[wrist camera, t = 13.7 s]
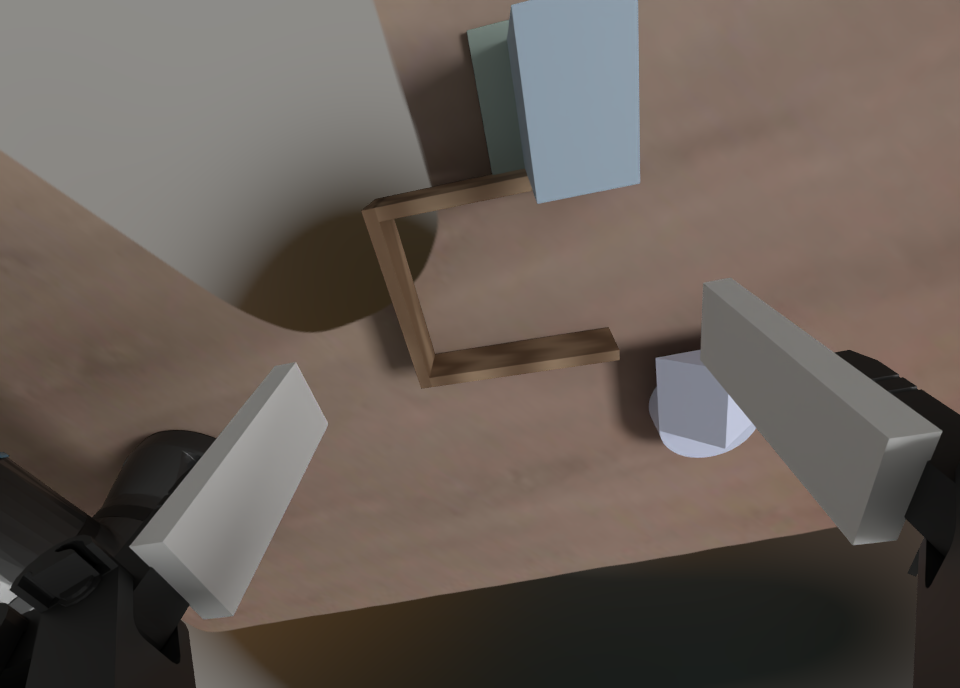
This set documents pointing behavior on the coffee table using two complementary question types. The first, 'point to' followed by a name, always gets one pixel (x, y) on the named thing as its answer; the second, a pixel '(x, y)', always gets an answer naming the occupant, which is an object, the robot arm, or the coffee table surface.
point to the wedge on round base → (695, 409)
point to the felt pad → (496, 96)
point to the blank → (576, 94)
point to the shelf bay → (409, 313)
